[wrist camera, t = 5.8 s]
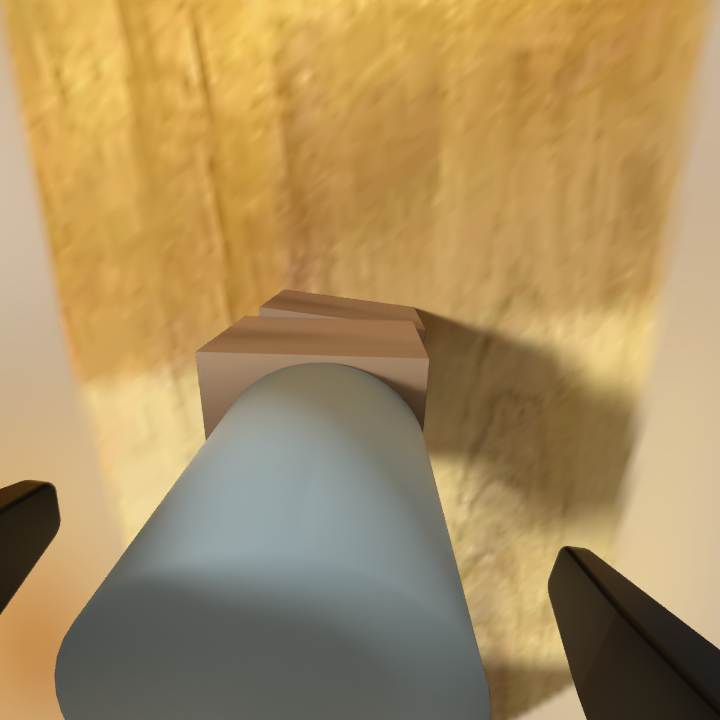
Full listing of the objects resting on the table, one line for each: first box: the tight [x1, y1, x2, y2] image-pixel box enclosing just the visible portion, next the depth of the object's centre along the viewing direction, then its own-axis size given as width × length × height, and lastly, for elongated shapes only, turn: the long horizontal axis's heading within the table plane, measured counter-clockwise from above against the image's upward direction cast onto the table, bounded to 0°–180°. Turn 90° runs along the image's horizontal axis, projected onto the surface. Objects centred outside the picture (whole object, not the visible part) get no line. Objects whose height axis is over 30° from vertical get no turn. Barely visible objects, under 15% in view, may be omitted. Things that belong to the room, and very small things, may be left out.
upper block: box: [195, 316, 429, 440], centre depth 11 cm, size 5×5×4 cm
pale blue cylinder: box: [55, 363, 491, 720], centre depth 7 cm, size 5×5×5 cm
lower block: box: [259, 290, 426, 344], centre depth 14 cm, size 5×5×4 cm
